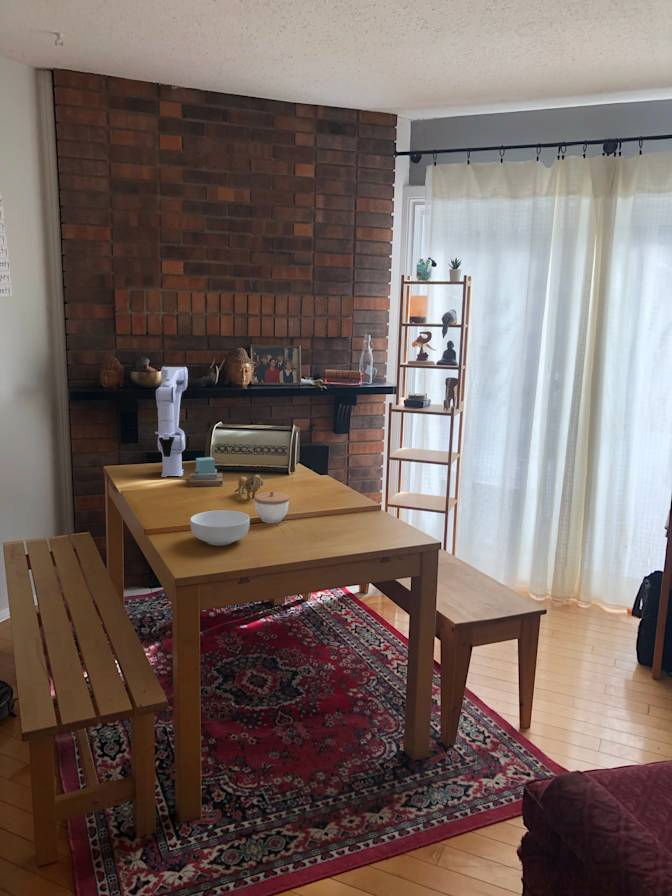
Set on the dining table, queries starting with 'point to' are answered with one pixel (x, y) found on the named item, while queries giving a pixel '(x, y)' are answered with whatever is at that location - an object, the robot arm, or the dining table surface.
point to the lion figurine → (250, 485)
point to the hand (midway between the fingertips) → (167, 456)
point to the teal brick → (205, 465)
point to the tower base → (205, 479)
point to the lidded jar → (271, 506)
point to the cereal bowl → (220, 526)
